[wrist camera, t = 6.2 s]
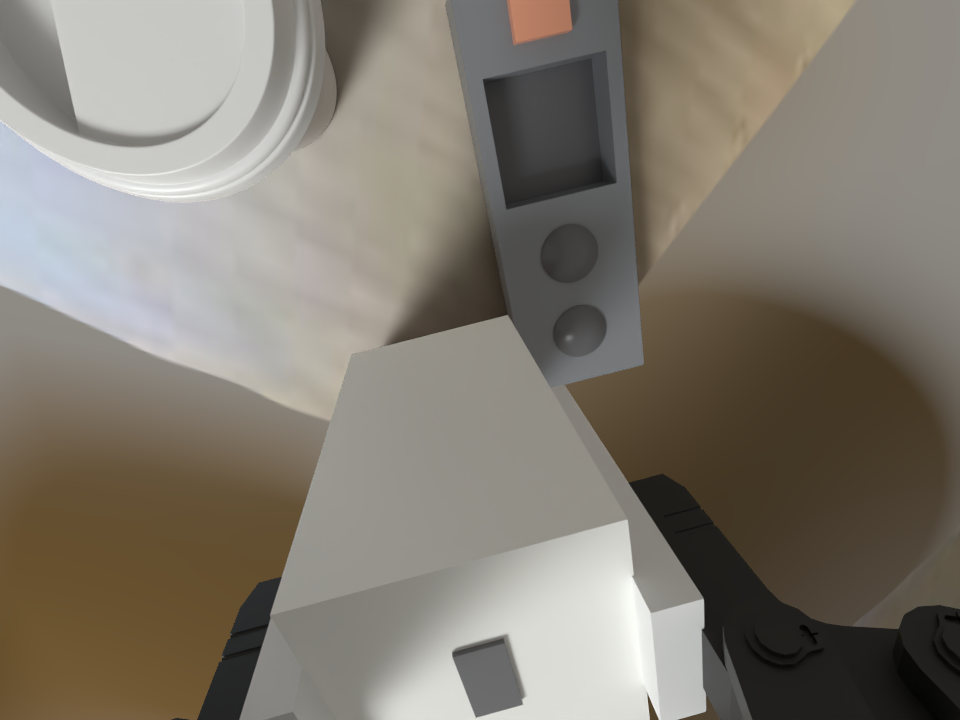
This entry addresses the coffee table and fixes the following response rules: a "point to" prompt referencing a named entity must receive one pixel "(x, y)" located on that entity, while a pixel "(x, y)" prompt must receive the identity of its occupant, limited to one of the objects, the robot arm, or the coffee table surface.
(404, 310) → the coffee table surface
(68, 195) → the coffee table surface
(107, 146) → the coffee cup
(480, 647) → the block
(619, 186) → the power strip
